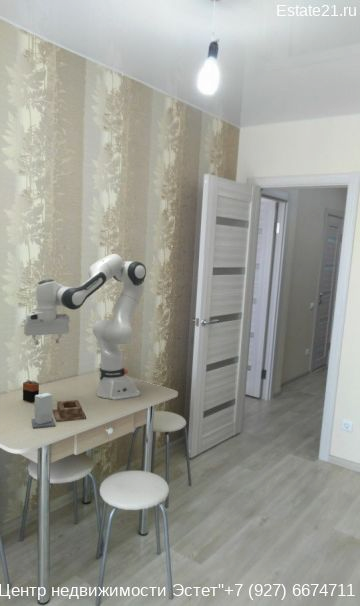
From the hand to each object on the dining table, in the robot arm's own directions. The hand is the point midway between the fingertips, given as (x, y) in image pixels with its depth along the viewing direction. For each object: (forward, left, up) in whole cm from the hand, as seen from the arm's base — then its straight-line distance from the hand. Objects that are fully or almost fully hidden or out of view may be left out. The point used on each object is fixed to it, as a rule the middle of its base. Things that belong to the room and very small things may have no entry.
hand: (47, 343), depth 211 cm
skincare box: (+3, +21, -30) cm, 37 cm away
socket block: (-9, +14, -31) cm, 35 cm away
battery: (+6, -11, -31) cm, 33 cm away
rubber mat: (+3, +21, -31) cm, 37 cm away
